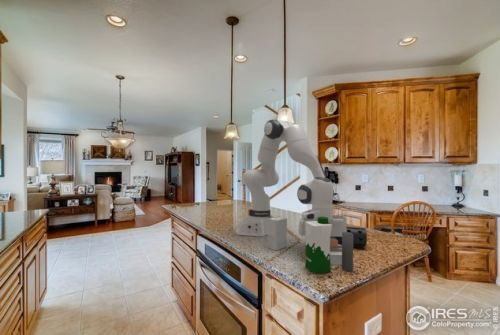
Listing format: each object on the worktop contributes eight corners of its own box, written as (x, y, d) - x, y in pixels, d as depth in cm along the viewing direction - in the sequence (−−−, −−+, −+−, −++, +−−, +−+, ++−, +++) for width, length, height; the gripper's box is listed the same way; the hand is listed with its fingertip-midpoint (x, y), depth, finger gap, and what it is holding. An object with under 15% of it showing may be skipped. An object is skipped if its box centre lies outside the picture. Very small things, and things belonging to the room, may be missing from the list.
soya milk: (334, 273, 89) (334, 219, 89) (312, 275, 87) (312, 220, 87) (322, 264, 97) (322, 215, 97) (301, 265, 95) (302, 216, 95)
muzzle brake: (366, 251, 114) (367, 229, 114) (307, 245, 122) (307, 225, 122) (363, 245, 123) (363, 225, 123) (308, 240, 131) (308, 221, 132)
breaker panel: (324, 264, 97) (324, 250, 97) (316, 252, 111) (316, 240, 111) (351, 265, 96) (352, 251, 96) (340, 253, 110) (340, 241, 110)
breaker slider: (330, 250, 102) (331, 240, 102) (328, 247, 105) (328, 238, 105) (337, 250, 101) (338, 240, 102) (335, 247, 104) (335, 238, 105)
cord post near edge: (344, 271, 90) (344, 234, 90) (340, 267, 94) (340, 232, 94) (354, 271, 90) (354, 235, 90) (350, 267, 94) (350, 232, 94)
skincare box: (278, 244, 122) (278, 215, 122) (287, 247, 117) (287, 217, 118) (266, 248, 116) (267, 217, 117) (275, 251, 112) (276, 219, 112)
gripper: (343, 213, 106) (343, 244, 106) (298, 212, 107) (297, 243, 107) (349, 216, 100) (349, 248, 100) (300, 215, 101) (300, 247, 100)
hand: (322, 246), depth 103 cm, fingers closed
